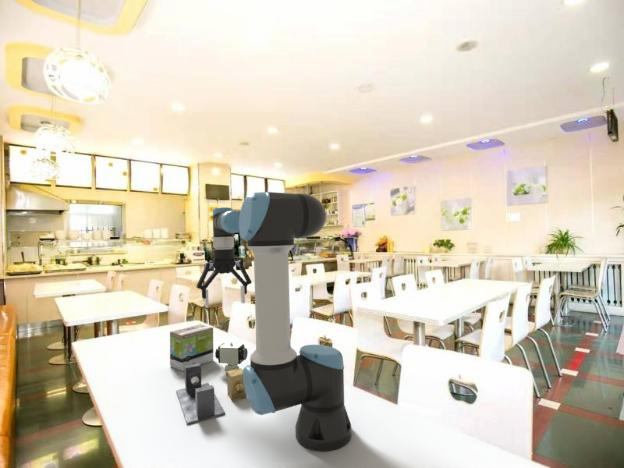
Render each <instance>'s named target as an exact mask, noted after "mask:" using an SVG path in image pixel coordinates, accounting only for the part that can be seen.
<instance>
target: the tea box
mask: <svg viewBox="0 0 624 468" xmlns="http://www.w3.org/2000/svg"><path fill="white" fill-rule="evenodd" d="M213 361H214V327H212V326H208V325H204V324H201V323H200V324H196V325H193V326H188V327H184V328H180V329H176V330H171V331H169V366H170V367H172V368H173V369H176V370H179V371H181V372H185V366H187V365H192V364H197V363H200V365H201V366H202V365H204V364H206V363H210V362H213Z"/></svg>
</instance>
